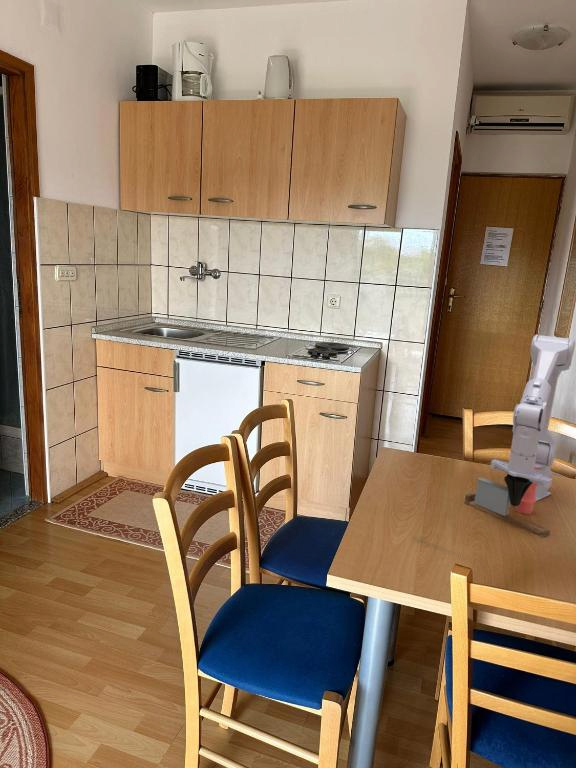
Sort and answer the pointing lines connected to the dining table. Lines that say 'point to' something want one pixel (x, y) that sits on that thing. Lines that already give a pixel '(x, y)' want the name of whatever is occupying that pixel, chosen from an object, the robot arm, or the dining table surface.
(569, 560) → the dining table surface
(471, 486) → the dining table surface
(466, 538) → the dining table surface
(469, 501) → the rail
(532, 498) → the figurine
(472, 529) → the dining table surface
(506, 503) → the screen
